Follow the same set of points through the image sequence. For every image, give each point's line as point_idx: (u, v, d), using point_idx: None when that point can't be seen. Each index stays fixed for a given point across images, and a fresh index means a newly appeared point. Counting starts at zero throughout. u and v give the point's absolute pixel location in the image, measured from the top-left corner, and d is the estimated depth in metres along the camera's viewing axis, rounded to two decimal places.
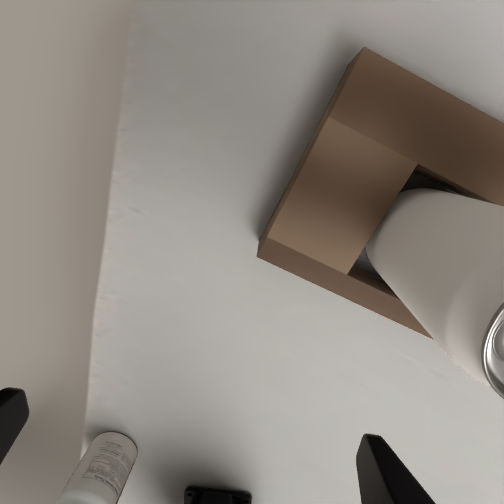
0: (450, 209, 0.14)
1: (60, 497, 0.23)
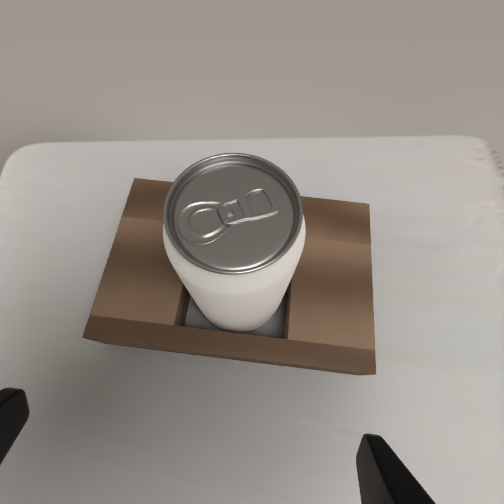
0: None
1: None
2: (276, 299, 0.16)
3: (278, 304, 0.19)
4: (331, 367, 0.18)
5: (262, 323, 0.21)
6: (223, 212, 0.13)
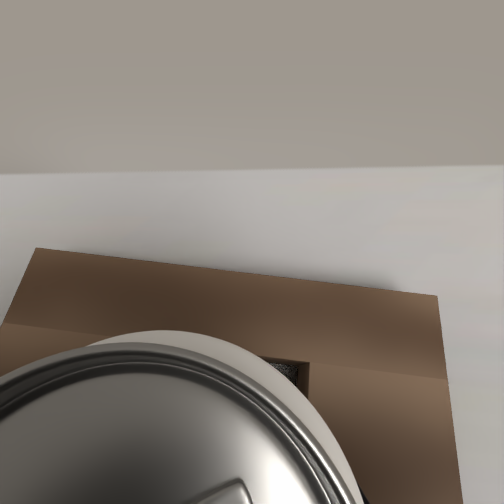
0: None
1: None
2: None
3: None
4: None
5: None
6: None
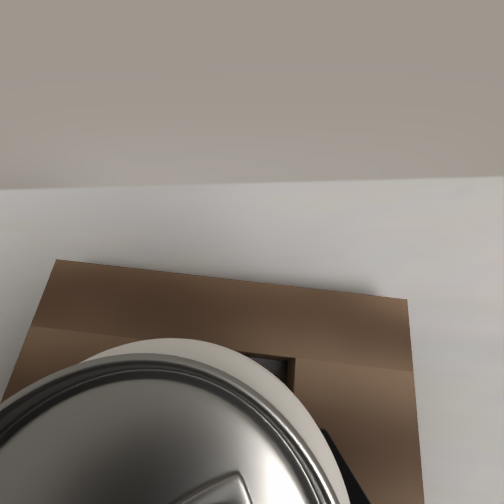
0: None
1: None
2: None
3: None
4: None
5: None
6: None
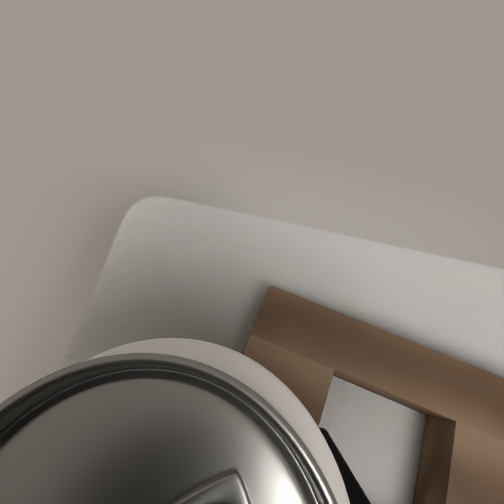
0: None
1: None
2: None
3: None
4: None
5: None
6: None
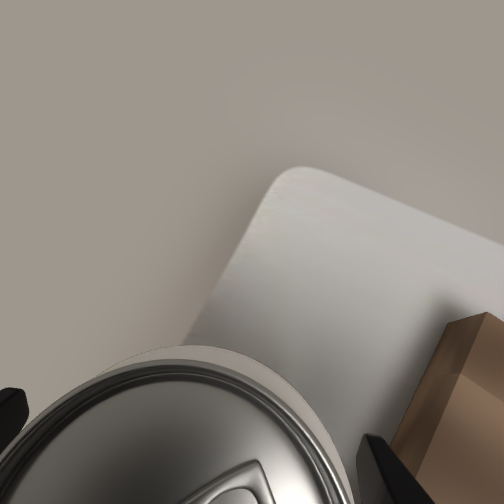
0: None
1: None
2: None
3: None
4: None
5: None
6: None
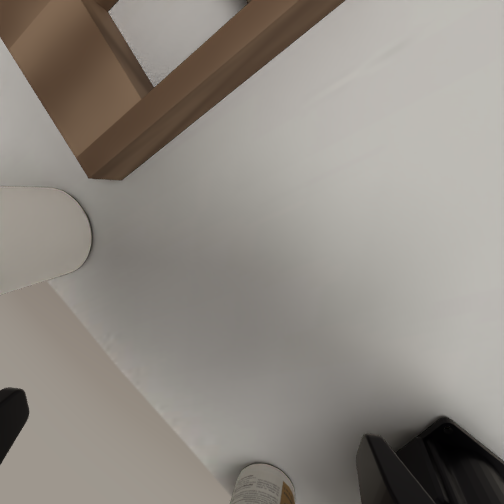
0: None
1: None
2: None
3: (41, 213, 0.18)
4: None
5: (78, 227, 0.21)
6: None
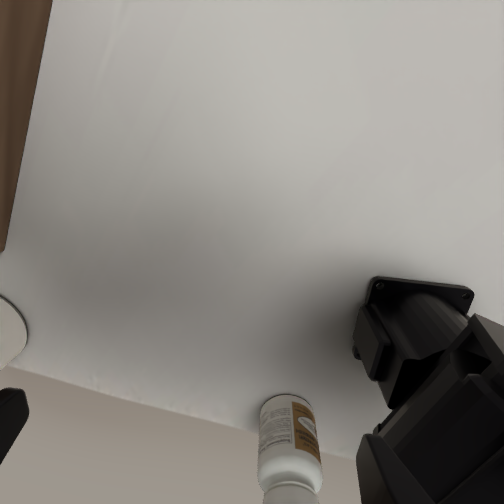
0: None
1: None
2: None
3: None
4: None
5: None
6: None
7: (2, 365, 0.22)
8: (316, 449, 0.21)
